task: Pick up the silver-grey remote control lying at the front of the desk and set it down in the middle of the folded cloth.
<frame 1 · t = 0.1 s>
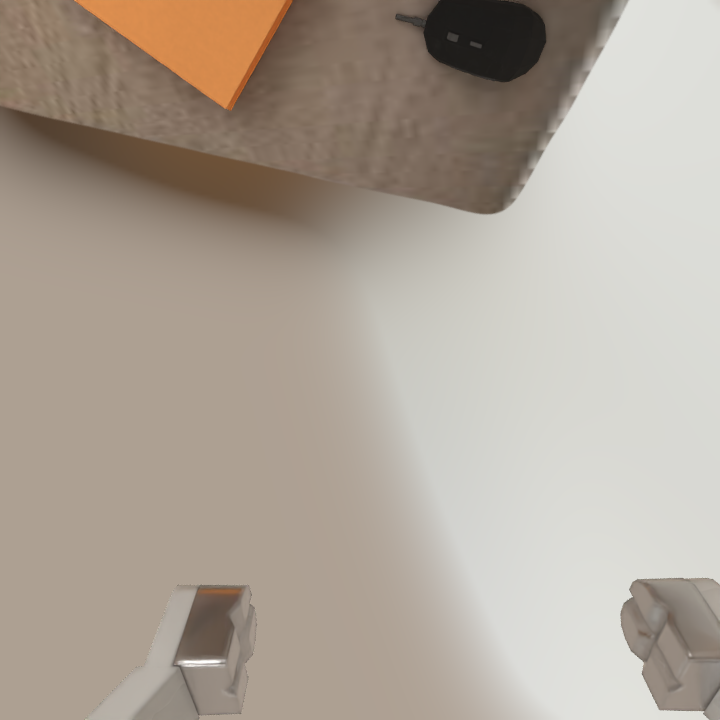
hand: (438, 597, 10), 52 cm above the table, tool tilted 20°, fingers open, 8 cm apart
gaming mouse: (468, 32, 47), on the table
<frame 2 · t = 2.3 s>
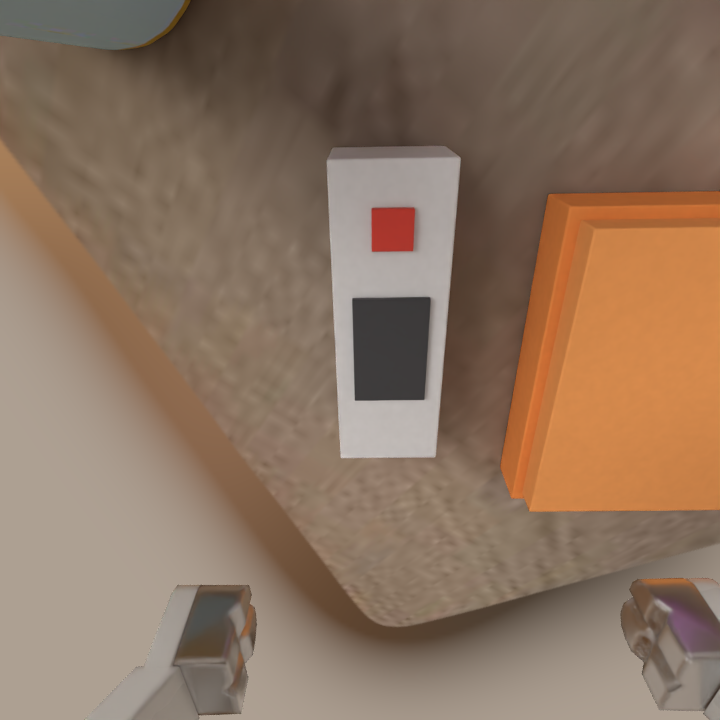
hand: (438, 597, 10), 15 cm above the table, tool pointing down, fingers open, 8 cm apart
folded cloth: (673, 350, 25), on the table
remote: (386, 300, 23), on the table
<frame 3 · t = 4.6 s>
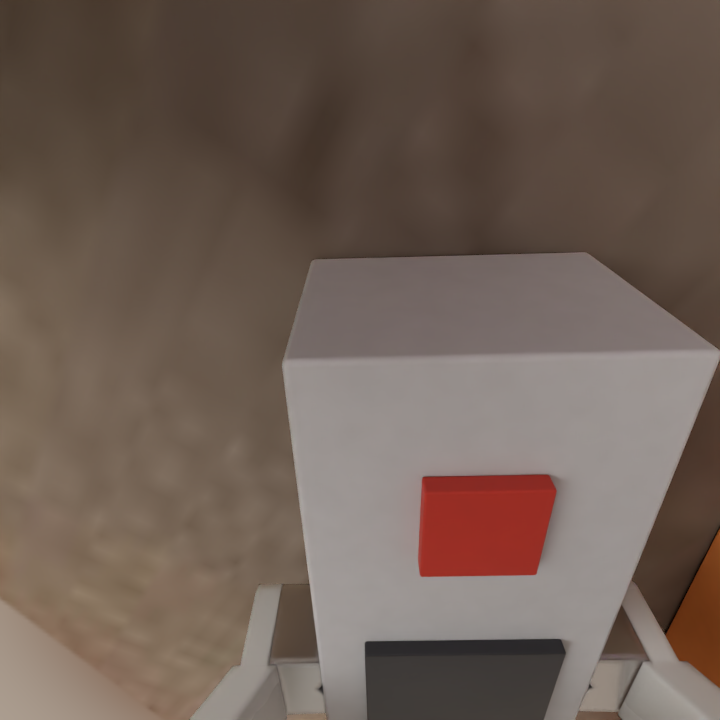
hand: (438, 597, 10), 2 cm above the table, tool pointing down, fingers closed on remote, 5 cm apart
remote: (430, 531, 12), on the table, touching gripper
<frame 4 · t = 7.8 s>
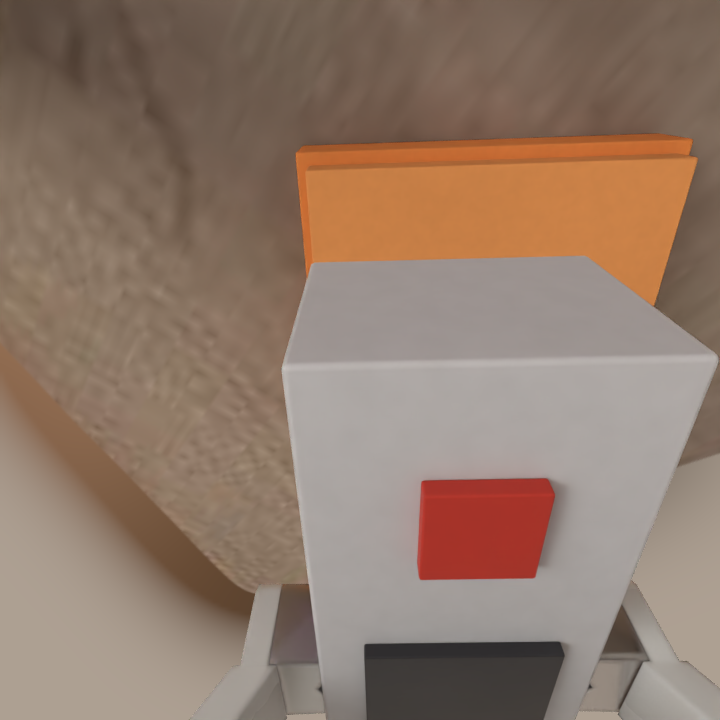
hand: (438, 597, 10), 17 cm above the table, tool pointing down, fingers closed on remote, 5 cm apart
folded cloth: (465, 303, 25), on the table
remote: (429, 533, 12), point 15 cm above the table, touching gripper
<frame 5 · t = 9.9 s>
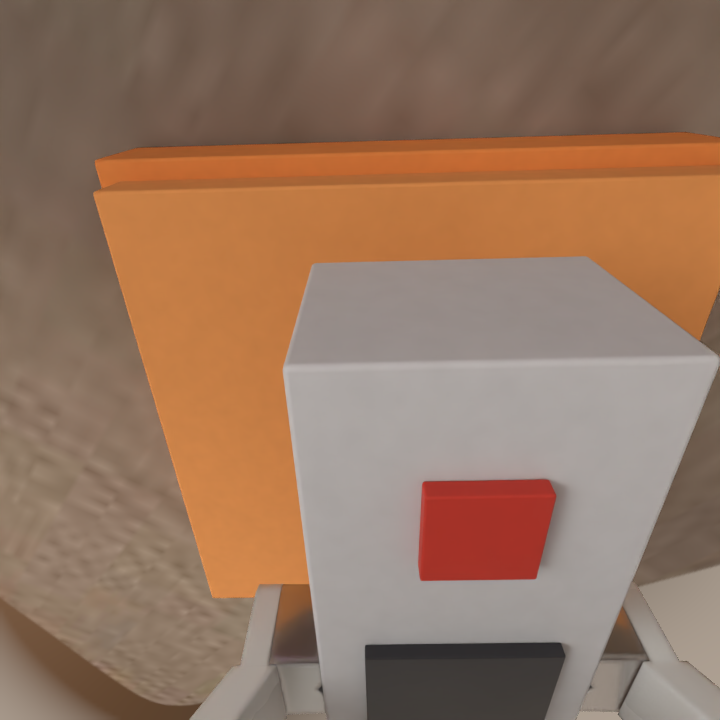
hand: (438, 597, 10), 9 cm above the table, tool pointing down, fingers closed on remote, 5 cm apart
folded cloth: (403, 373, 18), on the table
remote: (430, 534, 12), point 7 cm above the table, touching gripper
when the fingers open (6 cm above the table, at t = 11.2 s): remote stays where it is, resting on folded cloth.
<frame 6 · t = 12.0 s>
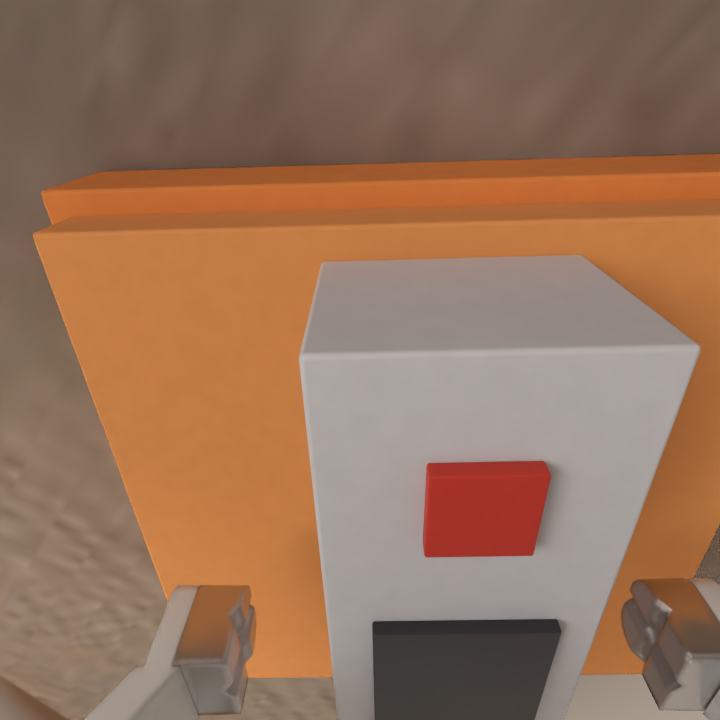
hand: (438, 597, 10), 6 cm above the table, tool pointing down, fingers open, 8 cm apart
folded cloth: (413, 423, 16), on the table
remote: (433, 523, 12), point 4 cm above the table, touching folded cloth
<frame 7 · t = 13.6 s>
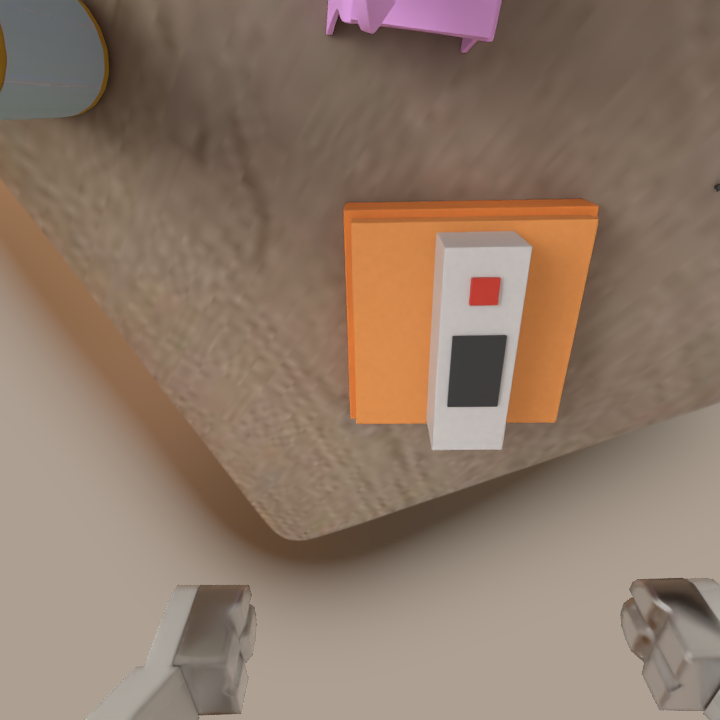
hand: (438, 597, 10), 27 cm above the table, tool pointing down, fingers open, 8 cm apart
bottle: (56, 51, 29), on the table
folded cloth: (454, 310, 36), on the table
remote: (465, 335, 32), point 4 cm above the table, touching folded cloth
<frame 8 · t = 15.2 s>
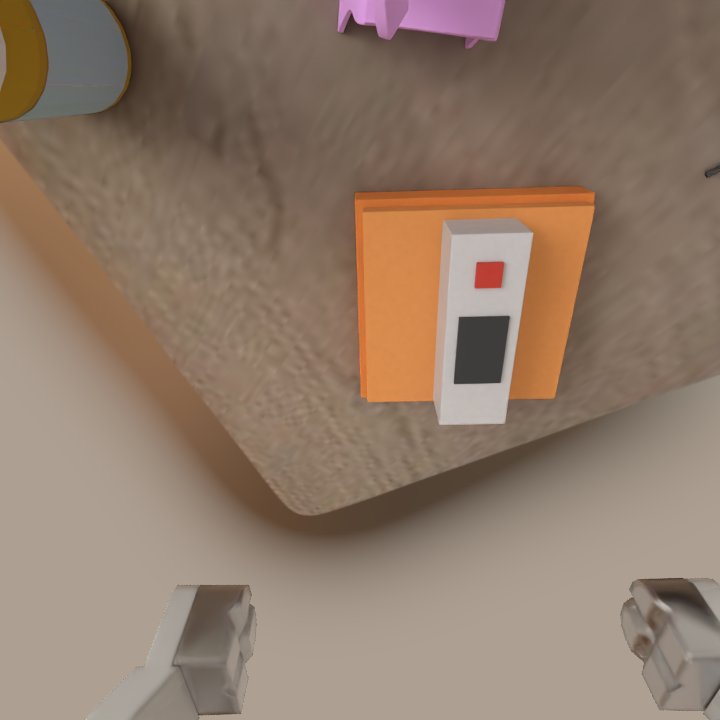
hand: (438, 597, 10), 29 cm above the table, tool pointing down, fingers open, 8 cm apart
bottle: (80, 50, 30), on the table
folded cloth: (459, 294, 38), on the table
remote: (470, 316, 34), point 4 cm above the table, touching folded cloth
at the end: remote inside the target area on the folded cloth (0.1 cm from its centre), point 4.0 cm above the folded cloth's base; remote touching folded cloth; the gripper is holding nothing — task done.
